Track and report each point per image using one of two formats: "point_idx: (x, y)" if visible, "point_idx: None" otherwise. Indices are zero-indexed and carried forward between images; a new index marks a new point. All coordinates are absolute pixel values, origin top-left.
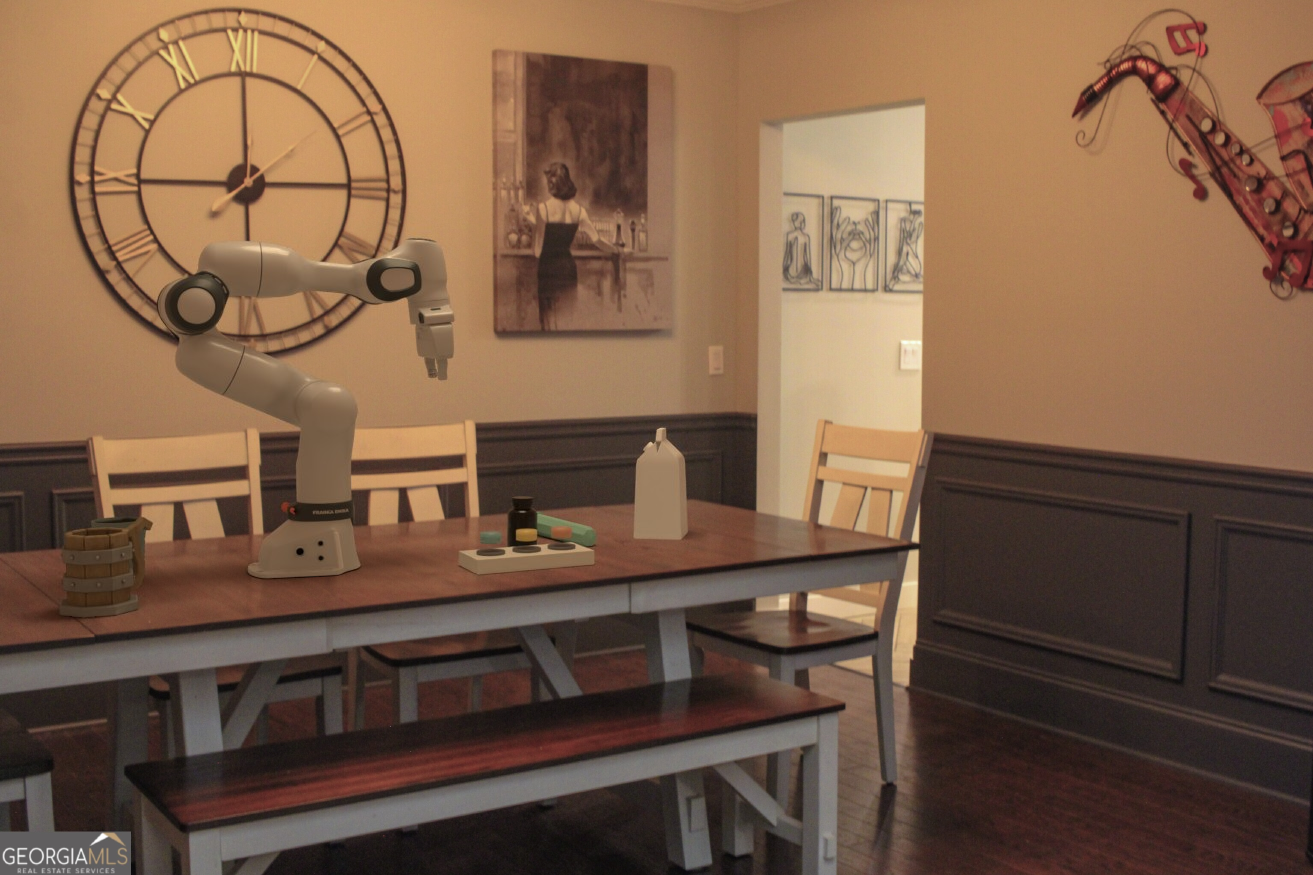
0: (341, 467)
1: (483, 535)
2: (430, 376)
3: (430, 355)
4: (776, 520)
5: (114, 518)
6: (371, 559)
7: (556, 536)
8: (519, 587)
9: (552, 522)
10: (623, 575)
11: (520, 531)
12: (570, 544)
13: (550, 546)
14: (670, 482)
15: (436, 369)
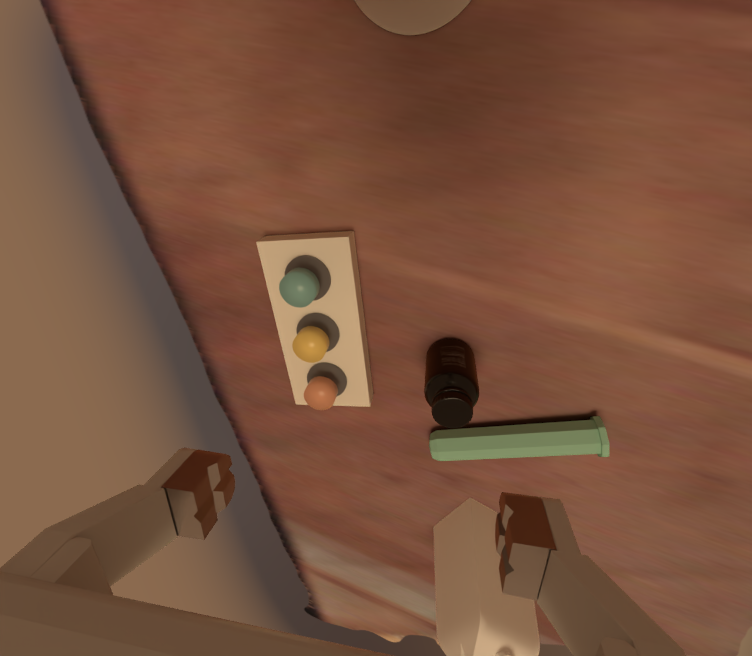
0: None
1: (286, 274)
2: (501, 501)
3: (50, 624)
4: None
5: None
6: (479, 76)
7: (311, 380)
8: (169, 261)
9: (525, 441)
10: (227, 391)
11: (298, 336)
12: None
13: (320, 365)
14: (443, 600)
15: (502, 592)
